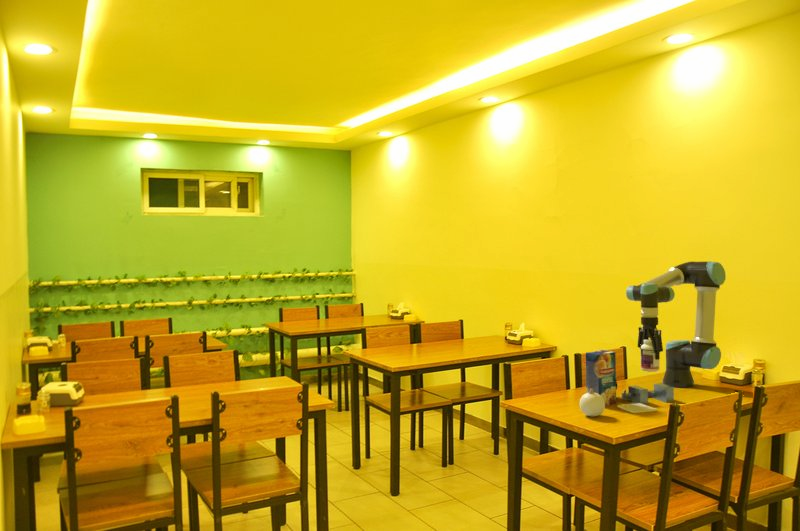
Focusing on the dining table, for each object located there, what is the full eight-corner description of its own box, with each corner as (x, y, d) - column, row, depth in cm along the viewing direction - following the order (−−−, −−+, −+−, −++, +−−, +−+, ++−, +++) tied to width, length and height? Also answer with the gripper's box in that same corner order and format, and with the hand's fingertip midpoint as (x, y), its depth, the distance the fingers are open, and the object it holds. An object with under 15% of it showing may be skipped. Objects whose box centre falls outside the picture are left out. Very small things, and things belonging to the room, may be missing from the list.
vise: (653, 395, 314) (653, 381, 314) (673, 401, 300) (673, 386, 300) (611, 399, 308) (611, 384, 308) (630, 406, 294) (629, 390, 294)
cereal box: (599, 407, 293) (598, 354, 292) (586, 404, 299) (585, 352, 299) (616, 403, 300) (615, 352, 299) (603, 400, 306) (602, 350, 305)
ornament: (590, 420, 271) (590, 392, 271) (575, 414, 280) (574, 387, 280) (609, 417, 275) (609, 389, 275) (593, 412, 285) (593, 385, 284)
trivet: (639, 404, 296) (639, 403, 296) (656, 410, 284) (656, 409, 284) (617, 407, 292) (617, 405, 292) (633, 413, 281) (633, 411, 281)
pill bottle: (645, 368, 307) (645, 338, 307) (662, 370, 301) (662, 339, 301) (638, 370, 301) (637, 340, 301) (654, 372, 295) (654, 341, 295)
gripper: (629, 314, 310) (629, 361, 310) (657, 318, 290) (657, 369, 290) (642, 314, 312) (643, 360, 312) (671, 318, 292) (671, 368, 292)
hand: (650, 364), depth 301 cm, fingers closed on pill bottle, 8 cm apart
